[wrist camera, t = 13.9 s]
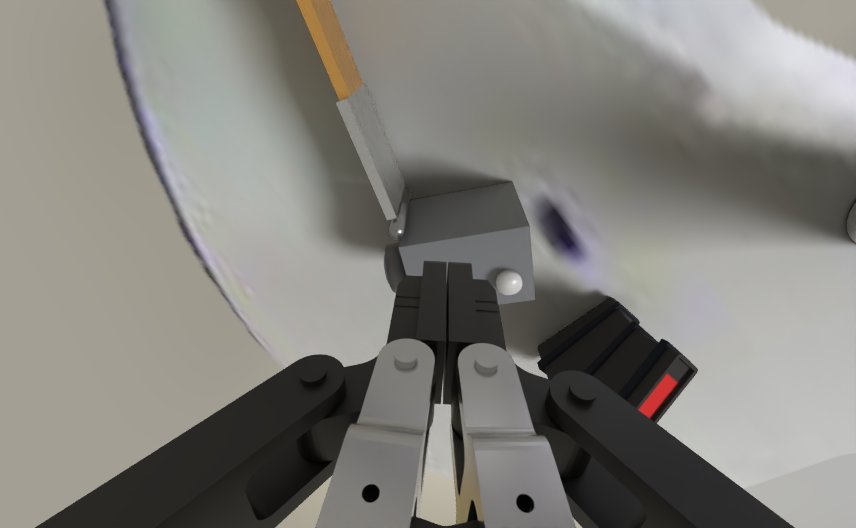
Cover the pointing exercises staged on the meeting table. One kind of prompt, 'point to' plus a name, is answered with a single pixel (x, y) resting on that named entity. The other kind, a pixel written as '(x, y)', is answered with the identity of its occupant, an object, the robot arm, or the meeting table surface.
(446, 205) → the grey box with knob
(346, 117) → the orange and gray panel
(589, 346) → the black ribbed block
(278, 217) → the meeting table surface
